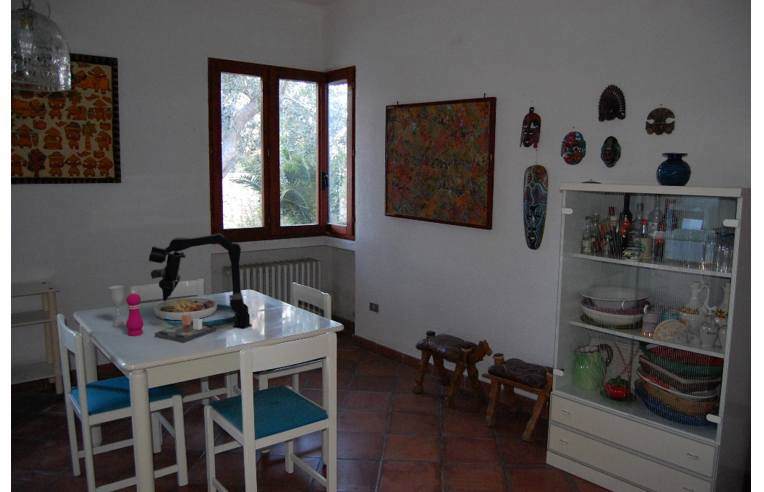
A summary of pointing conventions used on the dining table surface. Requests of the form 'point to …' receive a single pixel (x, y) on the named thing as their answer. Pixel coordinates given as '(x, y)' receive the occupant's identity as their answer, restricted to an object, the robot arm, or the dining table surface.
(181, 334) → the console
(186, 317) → the block
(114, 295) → the chalice
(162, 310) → the bowl
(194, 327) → the fader
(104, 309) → the dining table surface
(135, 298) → the pepper mill
